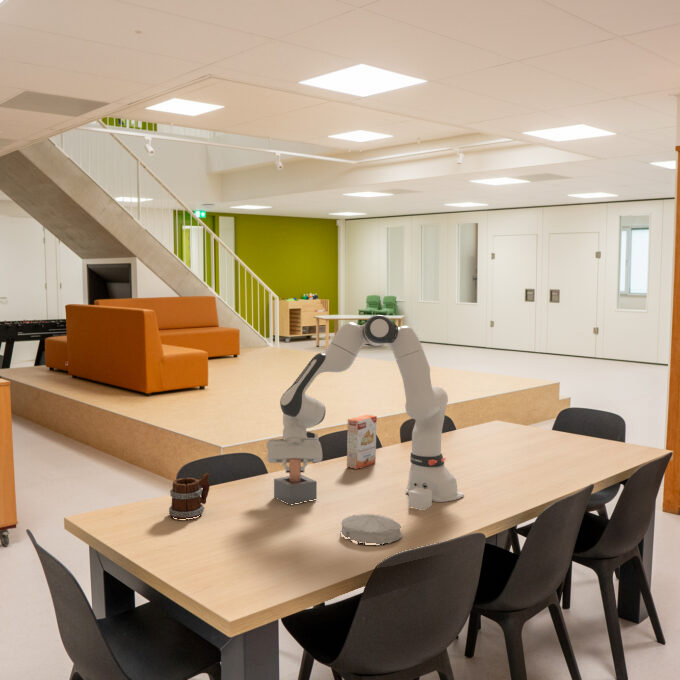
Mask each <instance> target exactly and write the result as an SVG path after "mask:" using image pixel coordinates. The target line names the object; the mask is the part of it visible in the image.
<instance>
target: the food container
mask: <svg viewBox="0 0 680 680" xmlns="http://www.w3.org/2000/svg"><path fill="white" fill-rule="evenodd" d="M340 524H341V530H342V531H341V530H340V532H342V534H343V535H344V536H345V537H347V538H348V537H350V539H351V540H355V541H357V542H362V543H365V542H366V543H376V544H382V545H383V543H388V544H390V543H392V542H396V541H398V540H400V539H401V538H402V535H403V532H402V531H401V528H402V526H401V524H400V523H399V522H396V520H395V519H393V518H391V517H388V516H385V515H381V514H374V513H370V514H369V513H364V514H362V513H359V514H353V515H349V516H347V517H345V518H344V519H342V520H341V522H340Z"/></svg>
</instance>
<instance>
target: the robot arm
mask: <svg viewBox="0 0 680 680" xmlns="http://www.w3.org/2000/svg"><path fill="white" fill-rule="evenodd" d="M384 345H387V346H388V347H389V348H390V349H391V351H392V353H393V356H394V359H395V361H396V364H397V367H398V370H399V373H400V376H401V377H402V378H401V379H402V383H403V389H404V395H405V404H404V405H405V407H404V408H405V412H406V414H407V415H408V416H409V417H410V418H411V419H413V420H415V423H414V426H413V429H412V432H411V452H410V456H409V457H410V458H409V459H410V460H409V461H410V463H411V465H410V467H409V473H408V481H407V487H406V490H405V494H407V493H408V494H407V495H409V491H411V490H413V489H415V488H417V487H418V488H423V489H428V490H432V502H435V503H444V502H445V503H446V502H452V501H456V500H460V499H462V498H463V497H464V495H465V494H464V492H462V491H460V490H458V482H457V479H456V478H455V475H453V474H452V473H451V472H450V470H449V469H448V468H447V467H446V465H445V462H446V461H447V458H446V457H444V455H443V453H442V435H443V427H444V422H445V415H446V408H447V405H448V401H449V397H448V394H447V391H445V390H444V388H443V387H439V386H438V385H436V386H435V385H432V381H431V367H430V364H429V362H428V359H427V356H426V353H425V351H424V347H423V346H422V343H421V341H420V339H419V337H418V335H417V334H416V332H415V330H414V329H413V328H412V327H411V326H409V325H401V326H398V325H397V324H396V323H394V321H392V320H391V319H390V318H389V317H387V316H385V315H381V314H376V315H375V314H374V315H372V316H371V317H369V318H368V319H367V321H366V322H365V323H364V324H362V325H360V324H358V323H356V322H352V321H351V322H350V321H348V322H347V321H346V322H345V323H343V324H342V325H341V326H340V328H339V329H338V330H337V332H336V333H335V335H334V336H333V337H332V339H331V341H330V343H329V345H328V347H326V349H324V350H323V351H322V352H320V353H316V355H314V356H313V357H312V358H311V359H310V361H309V362H308V363H307V364H306V366H305V367H304V369H303V370H302V371H301V372H300V374H299V375H298V377H297V378H296V379H295V380H294V382H293V383H292V385H291V386H290V387H288V389H287V390H286V391H285V392H283V394H282V396H281V398H280V401H279V404H280V409H281V411H282V413H283V414H282V424H283V430H282V438H276V439H275V438H271V439H269V440H268V441H267V442H266V449H267V457H266V459H267V462H268V463H270V464H275V463H276V464H277V463H278V464H282V466H283V468H284V469H285V473H286V474H290V465H289V466H288V465H287V464H288V463H289V464H290V459H300V460H301V463H303V465H301V473H305V469H306V467H307V466H308V463H321V462H322V460H323V449H322V445H321V444H322V443H321V442H320V441H319V435H318V434H317V433H315V432H312V431H308V430H307V429H310V428H312V427H313V428H314V427H315V426H318V425H320V423H322V422H323V421H324V419H325V417H326V411H327V410H326V406H325V404H324V403H322V401H319V400H318V399H317V398H315V397H312V396H311V395H308V394H306V391H307V390H308V389H309V388H310V386H311V385H312V384H313V382H314V381H315V380H316V378H317V377H318V376H319V375H320V374H323V373H342V372H345V371H347V370H349V368H351V367H352V365H353V364H354V361H356V357H357V356H358V354H359V352H360V350H361V349H362V347H364V346H368V347H374V348H377V347H382V346H384ZM461 497H462V498H461Z"/></svg>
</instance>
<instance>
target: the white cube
mask: <svg viewBox="0 0 680 680" xmlns="http://www.w3.org/2000/svg"><path fill="white" fill-rule="evenodd" d="M432 503H433V501H432V490H428V489H423V488H418V487H417V488H415V489H413V490H411V491H409V494H408V508H409V507H413V508H417V509H421V510H425V509H427V508H428V509H430V508H431V507H430V506H432V505H433V504H432ZM429 507H430V508H429ZM428 509H427V510H428ZM421 510H420V511H421ZM425 511H426V510H425Z"/></svg>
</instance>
